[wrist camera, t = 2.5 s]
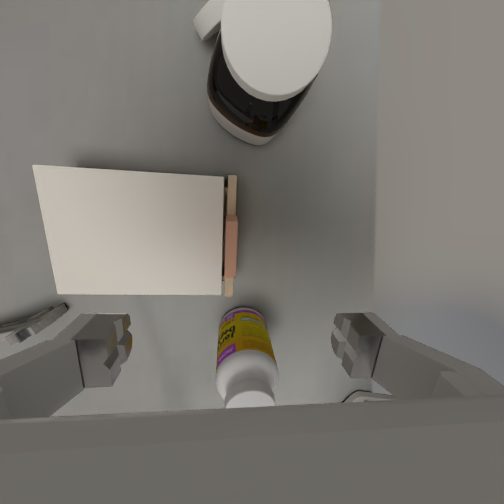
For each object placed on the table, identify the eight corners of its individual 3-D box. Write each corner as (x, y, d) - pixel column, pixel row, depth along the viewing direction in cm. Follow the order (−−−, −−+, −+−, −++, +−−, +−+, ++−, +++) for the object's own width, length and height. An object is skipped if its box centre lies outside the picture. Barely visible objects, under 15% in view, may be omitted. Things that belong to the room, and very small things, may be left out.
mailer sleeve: (224, 177, 27) (224, 176, 21) (222, 273, 30) (221, 295, 25) (76, 168, 25) (32, 164, 20) (91, 271, 29) (57, 294, 23)
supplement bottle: (231, 298, 32) (233, 372, 19) (273, 315, 33) (300, 393, 21) (211, 337, 33) (201, 428, 21) (252, 351, 35) (266, 445, 22)
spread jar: (262, 159, 27) (287, 144, 16) (170, 101, 24) (122, 34, 13) (319, 53, 24) (396, -53, 13) (223, -24, 22) (220, -233, 11)
